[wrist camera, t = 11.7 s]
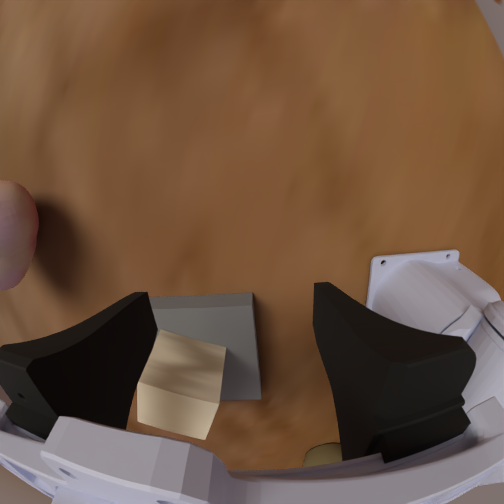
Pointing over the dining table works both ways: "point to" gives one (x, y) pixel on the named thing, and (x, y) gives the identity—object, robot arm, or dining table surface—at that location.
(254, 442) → the dining table surface
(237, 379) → the charcoal base
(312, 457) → the squeeze bottle
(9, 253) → the decorative fruit
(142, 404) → the birch cube
